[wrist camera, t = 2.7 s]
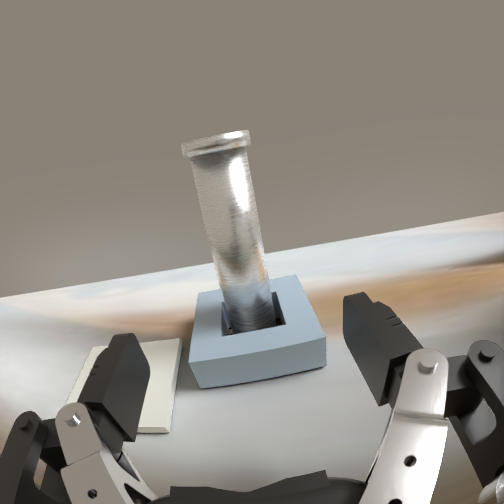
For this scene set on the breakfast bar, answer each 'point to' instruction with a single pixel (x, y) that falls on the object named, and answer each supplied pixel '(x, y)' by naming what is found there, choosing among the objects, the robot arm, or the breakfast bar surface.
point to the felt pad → (159, 387)
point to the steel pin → (233, 227)
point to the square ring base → (256, 339)
